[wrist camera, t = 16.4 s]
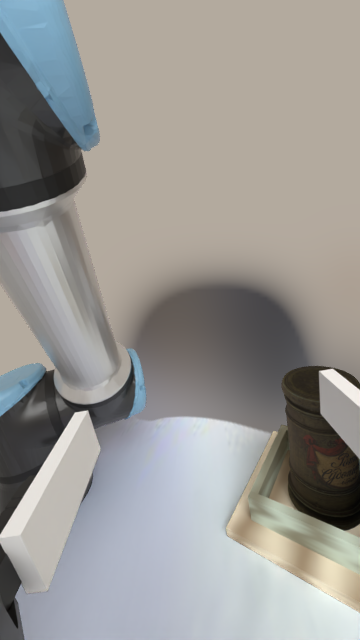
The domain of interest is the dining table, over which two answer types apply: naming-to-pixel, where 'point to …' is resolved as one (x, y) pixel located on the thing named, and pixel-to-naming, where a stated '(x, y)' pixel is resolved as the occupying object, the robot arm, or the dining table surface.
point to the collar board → (295, 529)
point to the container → (319, 454)
